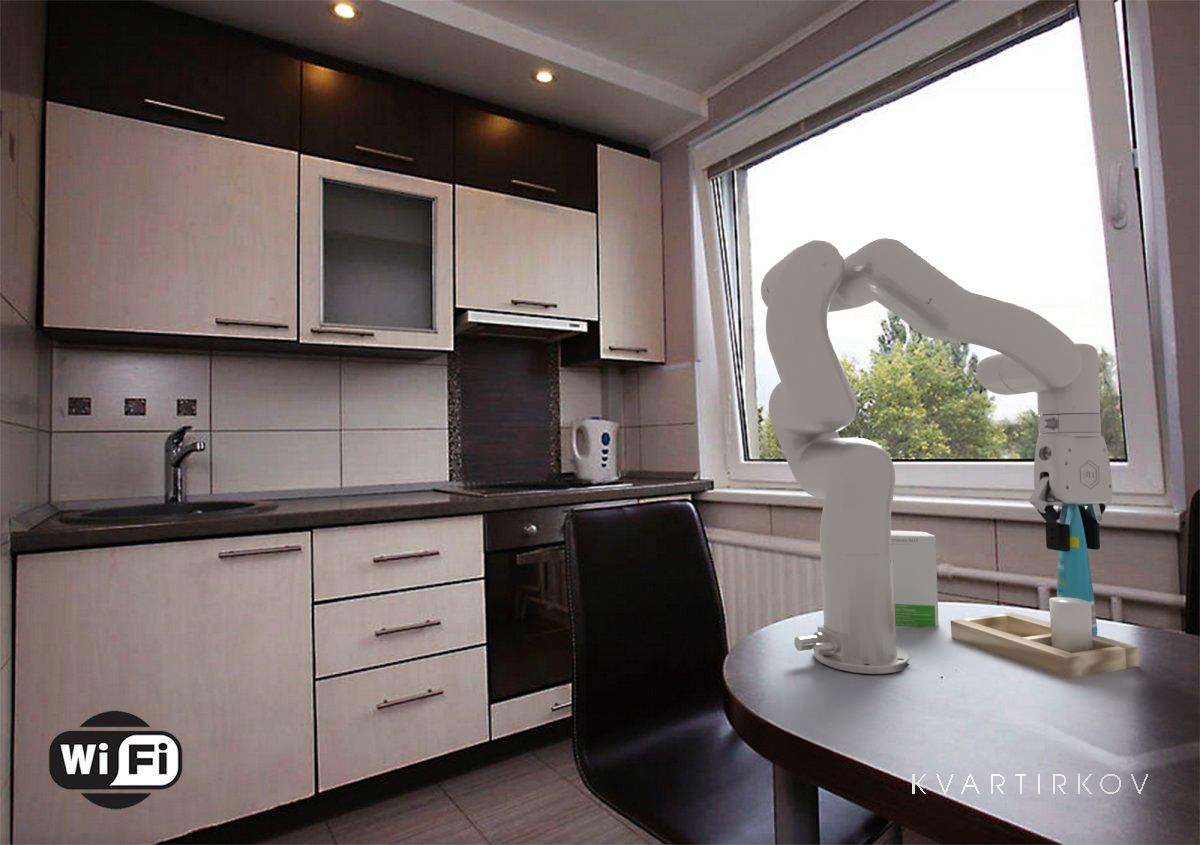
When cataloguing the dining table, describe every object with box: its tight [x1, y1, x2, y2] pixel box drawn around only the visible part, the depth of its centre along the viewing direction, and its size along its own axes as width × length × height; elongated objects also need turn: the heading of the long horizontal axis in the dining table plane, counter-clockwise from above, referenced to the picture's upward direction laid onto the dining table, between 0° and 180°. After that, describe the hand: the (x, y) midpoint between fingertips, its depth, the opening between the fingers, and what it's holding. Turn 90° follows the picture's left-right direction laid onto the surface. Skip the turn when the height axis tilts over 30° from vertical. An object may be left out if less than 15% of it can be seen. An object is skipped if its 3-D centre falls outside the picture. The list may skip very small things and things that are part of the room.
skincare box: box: [891, 530, 940, 631], centre depth 106 cm, size 8×7×16 cm
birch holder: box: [950, 612, 1140, 679], centre depth 89 cm, size 12×18×4 cm, turn 16°
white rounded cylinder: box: [1048, 596, 1093, 653], centre depth 84 cm, size 4×4×8 cm
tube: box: [1056, 504, 1098, 636], centre depth 94 cm, size 7×5×19 cm, turn 160°
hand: (1073, 547), depth 94 cm, fingers closed on tube, 5 cm apart
